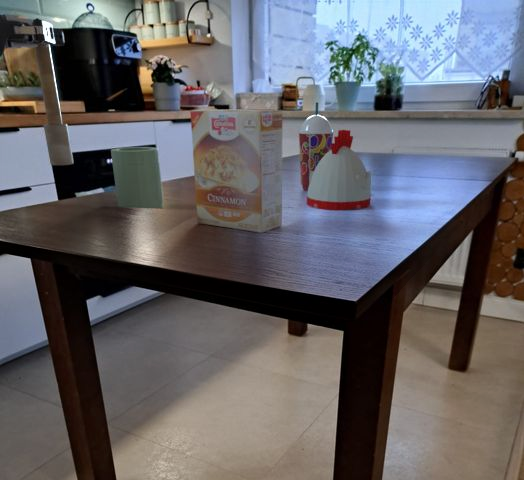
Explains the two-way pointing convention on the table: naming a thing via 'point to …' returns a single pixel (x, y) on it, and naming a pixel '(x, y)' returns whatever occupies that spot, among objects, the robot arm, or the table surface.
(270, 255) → the table surface
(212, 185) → the coffeecake box
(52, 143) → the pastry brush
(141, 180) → the green canister
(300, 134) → the smoothie
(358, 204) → the kitchen timer
